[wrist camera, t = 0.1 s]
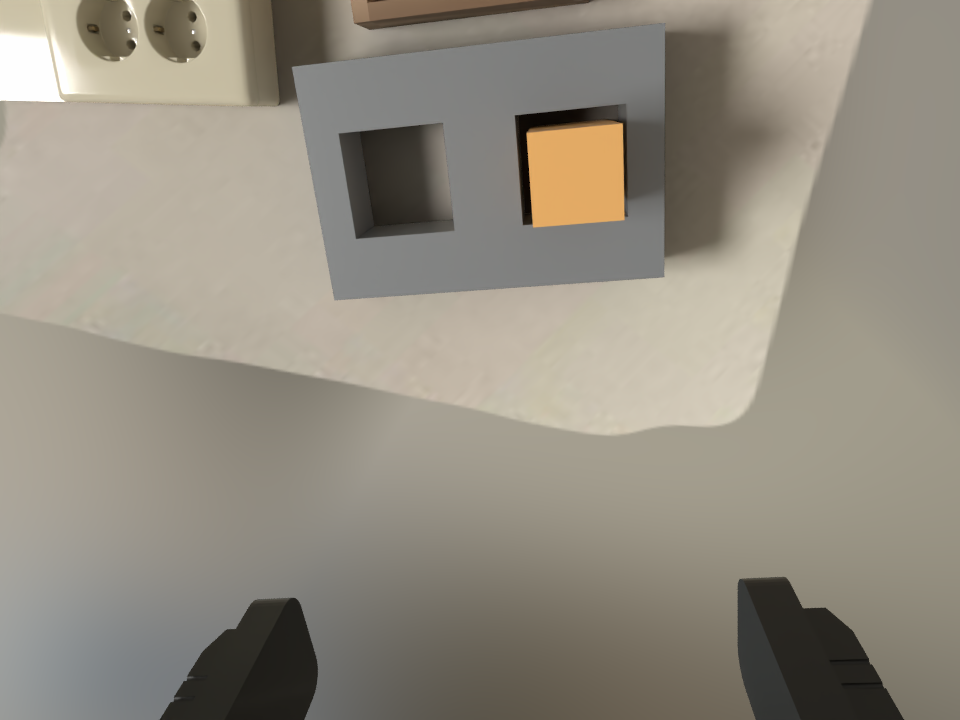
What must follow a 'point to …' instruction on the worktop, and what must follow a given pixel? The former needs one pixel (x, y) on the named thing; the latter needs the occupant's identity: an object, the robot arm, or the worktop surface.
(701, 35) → the worktop surface
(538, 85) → the cinder block
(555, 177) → the plug
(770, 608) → the robot arm
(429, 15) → the tray
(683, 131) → the worktop surface
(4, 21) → the electrical outlet
